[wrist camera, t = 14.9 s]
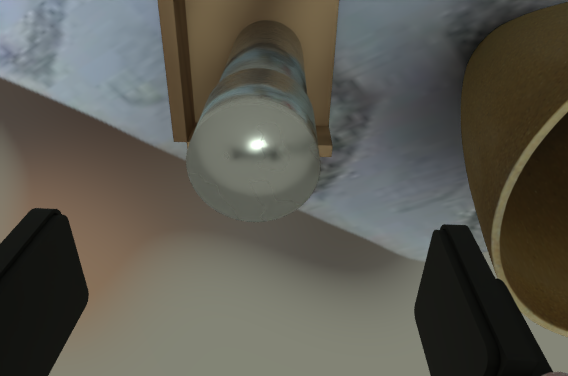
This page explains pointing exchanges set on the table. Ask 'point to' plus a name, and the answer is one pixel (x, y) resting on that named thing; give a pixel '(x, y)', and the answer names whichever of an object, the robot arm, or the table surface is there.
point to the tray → (219, 42)
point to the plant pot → (522, 158)
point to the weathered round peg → (257, 130)
